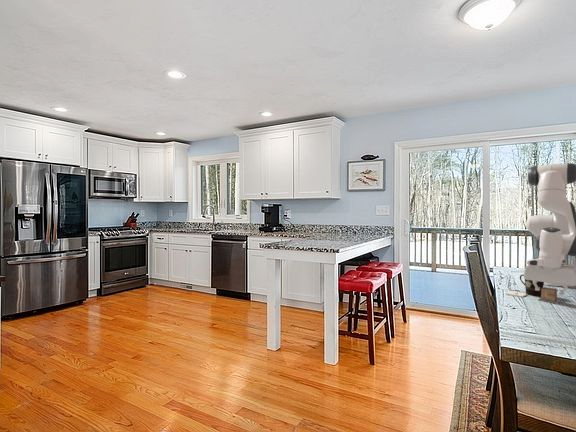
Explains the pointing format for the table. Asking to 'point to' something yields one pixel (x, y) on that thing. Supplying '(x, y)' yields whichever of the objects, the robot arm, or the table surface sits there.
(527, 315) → the table surface
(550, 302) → the tile
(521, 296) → the tile
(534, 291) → the coffee mug
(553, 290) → the letter cube
